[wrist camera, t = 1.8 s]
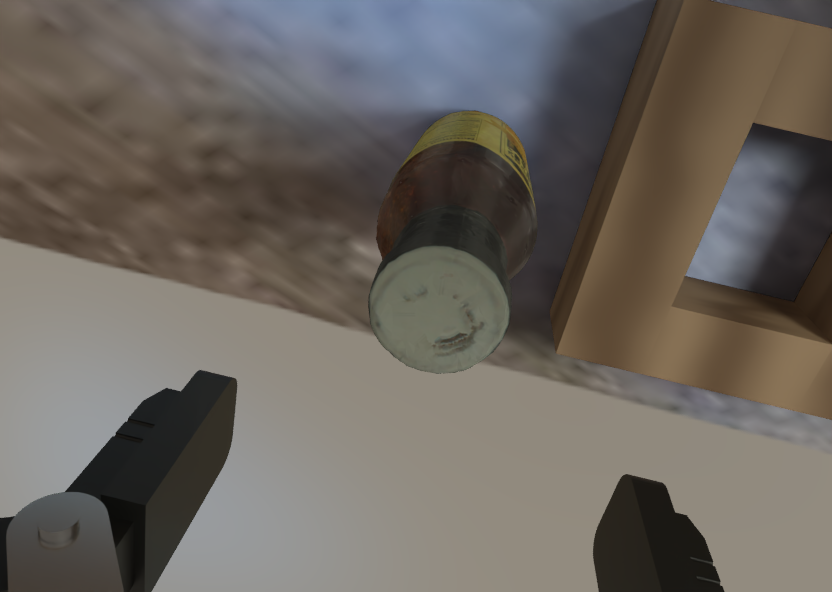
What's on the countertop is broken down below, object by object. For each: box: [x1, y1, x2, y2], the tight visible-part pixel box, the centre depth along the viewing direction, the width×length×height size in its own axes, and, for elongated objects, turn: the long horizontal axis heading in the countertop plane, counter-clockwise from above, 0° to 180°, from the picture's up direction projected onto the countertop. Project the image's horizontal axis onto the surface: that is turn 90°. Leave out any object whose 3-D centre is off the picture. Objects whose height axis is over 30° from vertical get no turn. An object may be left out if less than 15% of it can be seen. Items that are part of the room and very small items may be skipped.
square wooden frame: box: [550, 0, 832, 420], centre depth 33 cm, size 18×18×5 cm
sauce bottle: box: [368, 111, 537, 374], centre depth 27 cm, size 6×6×20 cm
